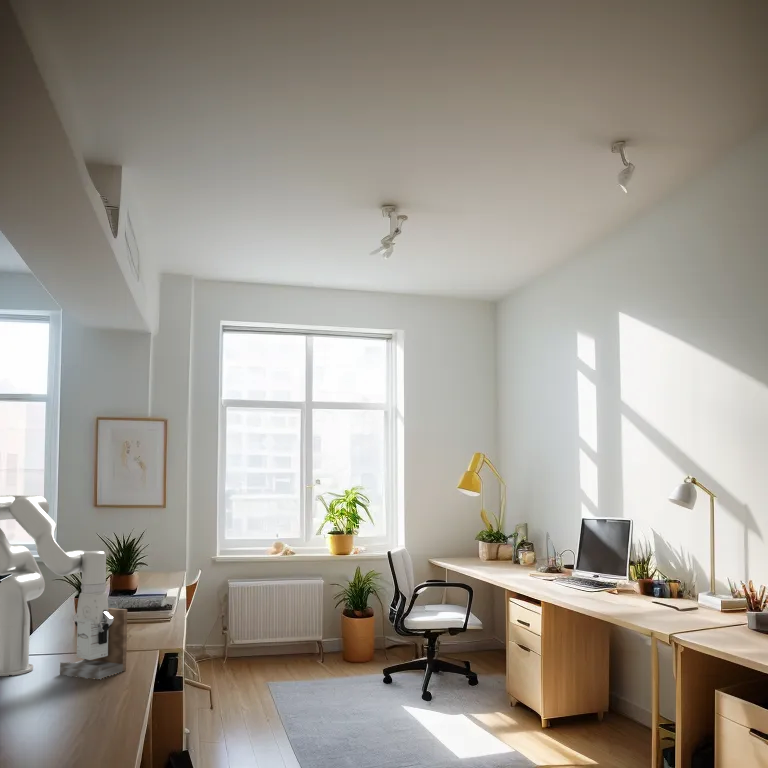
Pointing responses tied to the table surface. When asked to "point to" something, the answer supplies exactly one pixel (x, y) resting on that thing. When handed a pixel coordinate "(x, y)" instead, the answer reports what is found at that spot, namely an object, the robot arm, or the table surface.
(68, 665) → the bookend
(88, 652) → the supplement box
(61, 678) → the table surface
